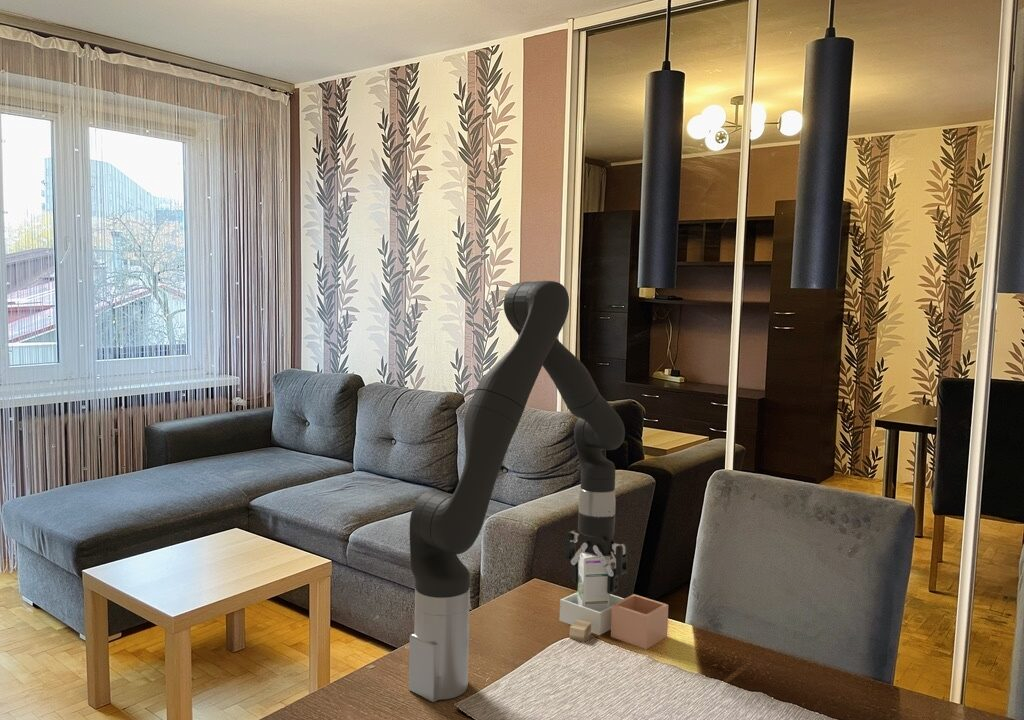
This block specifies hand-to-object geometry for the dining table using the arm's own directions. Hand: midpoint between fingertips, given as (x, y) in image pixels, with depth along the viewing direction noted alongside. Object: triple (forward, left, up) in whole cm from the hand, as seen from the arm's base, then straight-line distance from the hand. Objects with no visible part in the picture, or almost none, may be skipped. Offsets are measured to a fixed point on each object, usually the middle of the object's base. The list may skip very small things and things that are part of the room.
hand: (594, 587), depth 153 cm
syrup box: (0, 0, -7) cm, 7 cm away
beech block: (-8, -2, -8) cm, 11 cm away
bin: (0, 0, -8) cm, 8 cm away
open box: (0, -11, -8) cm, 13 cm away
